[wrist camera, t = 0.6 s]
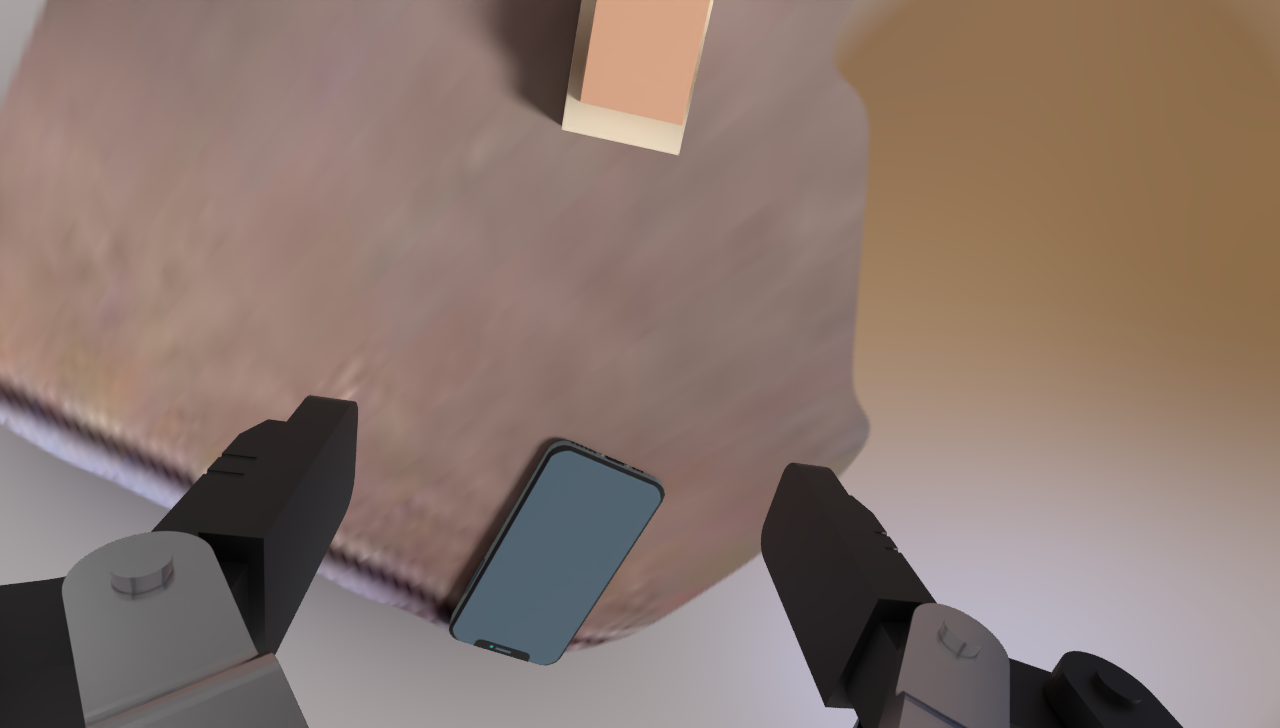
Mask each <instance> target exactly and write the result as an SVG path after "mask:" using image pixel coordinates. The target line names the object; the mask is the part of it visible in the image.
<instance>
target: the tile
mask: <svg viewBox="0 0 1280 728" xmlns="http://www.w3.org/2000/svg"><path fill="white" fill-rule="evenodd" d="M709 4H710V0H595V5H594V11H593V17H592V23H591V29H590V36H589V42H588V48H587V54H586V60H585V66H584V73H583V79H582V85H581V91H580V97H579V102H581V103H585V104H589V105H594V106H598V107H603V108H607V109H611V110H616V111H620V112H625V113H629V114H633V115H638V116H642V117H646V118H651V119H655V120H660V121H664V122H668V123H673V124H677V125H681V126H682V124H683V120H684V115H685V111H686V106H687V102H688V98H689V93H690V89H691V84H692V80H693V75H694V71H695V66H696V62H697V57H698V53H699V48H700V44H701V40H702V35H703V31H704V26H705V22H706V17H707V13H708V8H709Z"/></svg>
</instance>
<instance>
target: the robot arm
mask: <svg viewBox="0 0 1280 728" xmlns="http://www.w3.org/2000/svg"><path fill="white" fill-rule="evenodd" d="M357 425H358V406H357V403H356V402H355V401H348V400H341V399H333V398H326V397H319V396H311V395H310V396H307V397H306V398H305V399H304V401H303V402H302V403H301V404H300V406H299V407H298V408H297V409H296V411H295V412H294V413H293V414H292V416H291V417H290V418H289V419H288V421H287V422H285V421H277V420H269V419H268V420H266V421H264V422H262V423H260V424H258V425H256V426H254V427H252V428H250V429H248V430H247V431H245V432H243V433H241V434H239V435H238V436H237V437H236V439H235V440H234V441H233V442H232V443H231V444H230V445H229V446H228V447H227V449H226V450H225V451H224V452H223V453H222V457H218V458H217V460H216V461H215V462H214V463H213V464H212V465H211V466H210V467H209V468H208V470H207V474H203V475H202V476H201V477H200V478H199V479H198V481H197V482H196V483H195V484H194V485H193V486H192V487H191V488H190V489H189V490H188V492H187V493H186V494H185V495H184V496H183V497H182V498H181V499H180V500H179V502H178V503H177V504H176V505H175V506H174V507H173V508H172V509H171V510H170V511H169V513H168V514H167V515H166V516H165V517H164V518H163V519H162V520H161V521H160V523H159V524H158V525H157V526H156V527H155V528H154V529H153V530H152V531H151V532H148V533H142V534H137V535H132V536H129V537H125V538H122V539H119V540H116V541H114V542H111V543H108V544H106V545H104V546H102V547H100V548H98V549H96V550H94V551H93V552H91V553H90V554H88V555H87V556H85V557H84V558H83V559H81V560H80V561H79V562H78V563H76V564H75V566H74V567H73V568H72V569H71V570H70V571H69V573H68V574H67V576H66V577H61V578H55V579H49V580H42V581H33V582H26V583H17V584H9V585H1V586H0V728H309V727H308V725H307V723H306V720H305V718H304V716H303V714H302V712H301V710H300V707H299V705H298V703H297V701H296V698H295V697H294V694H293V692H292V690H291V688H290V685H289V683H288V681H287V679H286V677H285V674H284V672H283V670H282V668H281V666H280V664H279V662H278V660H277V658H276V657H275V654H276V652H277V650H278V648H279V646H280V644H281V642H282V640H283V638H284V636H285V634H286V632H287V630H288V628H289V626H290V624H291V622H292V620H293V618H294V616H295V614H296V612H297V610H298V608H299V606H300V604H301V602H302V600H303V598H304V596H305V594H306V592H307V590H308V588H309V586H310V583H311V582H312V579H313V578H314V576H315V574H316V572H317V570H318V568H319V566H320V564H321V562H322V560H323V558H324V556H325V554H326V552H327V550H328V548H329V546H330V544H331V542H332V540H333V538H334V536H335V534H336V532H337V530H338V528H339V526H340V524H341V522H342V520H343V518H344V516H345V513H346V511H347V509H348V506H349V503H350V499H351V495H352V491H353V486H354V478H355V462H356V443H357ZM761 550H762V555H763V558H764V561H765V563H766V566H767V568H768V570H769V573H770V575H771V578H772V580H773V582H774V585H775V587H776V590H777V592H778V595H779V597H780V599H781V602H782V603H783V607H784V609H785V611H786V614H787V616H788V619H789V621H790V623H791V626H792V628H793V631H794V633H795V635H796V638H797V640H798V642H799V645H800V647H801V650H802V652H803V655H804V657H805V659H806V662H807V664H808V667H809V669H810V671H811V674H812V676H813V679H814V681H815V683H816V686H817V688H818V690H819V693H820V695H821V698H822V700H823V703H824V705H825V707H833V708H852V709H854V710H855V711H856V714H857V716H858V719H857V721H856V723H855V725H854V727H853V728H1183V727H1182V726H1181V725H1180V724H1179V722H1178V721H1177V720H1176V719H1175V718H1174V717H1173V716H1172V715H1171V714H1170V712H1168V710H1167V709H1166V708H1165V707H1164V706H1163V705H1162V704H1161V703H1160V701H1159V700H1158V699H1157V698H1156V697H1155V696H1154V695H1153V694H1152V693H1151V692H1150V691H1149V690H1148V689H1147V688H1146V687H1145V686H1144V685H1143V684H1142V683H1140V682H1139V681H1138V680H1137V679H1135V678H1134V677H1133V676H1132V675H1130V674H1129V673H1127V672H1126V671H1124V670H1123V669H1121V668H1120V667H1118V666H1116V665H1115V664H1113V663H1111V662H1109V661H1107V660H1105V659H1103V658H1100V657H1098V656H1096V655H1093V654H1089V653H1086V652H1081V651H1072V652H1067V653H1065V654H1064V655H1063V656H1062V658H1061V659H1060V661H1059V662H1058V664H1057V665H1056V667H1055V668H1054V670H1053V671H1052V673H1051V672H1048V671H1046V670H1043V669H1040V668H1037V667H1034V666H1031V665H1028V664H1025V663H1022V662H1019V661H1016V660H1013V659H1010V658H1008V655H1007V652H1006V651H1005V649H1004V647H1003V646H1002V644H1001V643H1000V641H999V640H998V639H997V638H996V637H995V636H994V635H993V633H991V632H990V631H989V630H988V629H987V628H986V627H985V626H983V625H982V624H981V623H980V622H978V621H977V620H975V619H973V618H972V617H971V616H969V615H967V614H965V613H964V612H962V611H960V610H957V609H955V608H952V607H950V606H946V605H942V604H937V603H936V601H935V600H934V598H933V597H932V596H931V594H930V593H929V591H928V590H927V589H926V587H925V586H924V584H923V583H922V582H921V580H920V579H919V577H918V576H917V574H916V573H915V572H914V570H913V569H912V567H911V566H910V565H909V563H908V562H907V561H906V559H905V558H904V556H903V555H902V553H898V548H897V547H896V545H895V543H894V542H893V541H892V539H891V538H890V537H888V536H887V532H886V531H885V530H884V528H883V527H882V525H881V524H880V523H879V521H878V520H877V518H876V517H875V515H874V514H873V513H872V512H871V511H870V510H868V509H867V508H866V507H865V506H864V505H862V504H861V503H860V502H859V501H858V500H856V499H855V498H854V497H853V496H850V495H848V493H847V492H846V490H845V489H844V487H843V486H842V484H841V483H840V481H839V480H838V478H837V477H836V476H835V474H834V473H833V471H832V470H831V469H830V468H827V467H821V466H814V465H807V464H799V463H790V464H789V465H787V467H786V468H785V470H784V472H783V474H782V477H781V479H780V482H779V485H778V487H777V490H776V493H775V495H774V498H773V501H772V503H771V506H770V509H769V511H768V514H767V517H766V519H765V522H764V525H763V529H762V534H761Z"/></svg>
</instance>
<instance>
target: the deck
mask: <svg viewBox="0 0 1280 728" xmlns="http://www.w3.org/2000/svg"><path fill="white" fill-rule="evenodd" d="M713 1H714V0H710V4H709V8H708V13H707V17H706V22H705V26H704V31H703V35H702V40H701V44H700V48H699V53H698V57H697V62H696V66H695V71H694V75H693V80H692V84H691V89H690V93H689V98H688V102H687V106H686V111H685V115H684V120H683V124H682V126H681V125H677V124H673V123H668V122H664V121H660V120H655V119H651V118H646V117H642V116H638V115H633V114H629V113H625V112H620V111H616V110H611V109H607V108H603V107H598V106H594V105H589V104H585V103H581V102H579V97H580V91H581V85H582V79H583V73H584V66H585V60H586V54H587V48H588V42H589V36H590V29H591V23H592V17H593V11H594V5H595V0H581V5H580V12H579V18H578V25H577V31H576V37H575V44H574V50H573V57H572V63H571V70H570V76H569V83H568V89H567V96H566V102H565V109H564V115H563V121H562V130H566V131H571V132H575V133H580V134H584V135H589V136H593V137H598V138H603V139H607V140H612V141H616V142H621V143H625V144H630V145H635V146H639V147H644V148H648V149H653V150H657V151H662V152H667V153H671V154H676V155H679V151H680V147H681V142H682V138H683V133H684V129H685V125H686V120H687V116H688V111H689V107H690V102H691V98H692V94H693V89H694V85H695V80H696V76H697V71H698V67H699V63H700V58H701V54H702V49H703V45H704V40H705V36H706V32H707V27H708V23H709V18H710V14H711V9H712V5H713Z"/></svg>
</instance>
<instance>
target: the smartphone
mask: <svg viewBox="0 0 1280 728" xmlns="http://www.w3.org/2000/svg"><path fill="white" fill-rule="evenodd" d="M664 496H665V493H664V488H663V485H662V483H661V481H660V480H658V479H657V478H655V477H653V476H651V475H649V474H646V473H644V472H643V471H640V470H638V469H635V468H634V467H633V468H632V467H630V466H628V465H627V464H626V465H625V464H624V463H622V462H619V461H617V460H615V459H612V458H610V457H608V456H604V455H603V454H599V453H597V452H595V451H592V450H590V449H588V448H586V447H583V446H582V445H581V446H580V445H579V444H576V443H574V442H571V441H565V440H563V441H558V442H556V443H553V444H552V445H551V446H550V447H549V448H548V449H547V451H546V453H545V454H544V456H543V458H542V460H541V461H540V463H539V465H538V466H537V468H536V470H535V472H534V473H533V475H532V477H531V478H530V480H529V482H528V484H527V485H526V487H525V489H524V490H523V492H522V494H521V496H520V497H519V499H518V501H517V502H516V504H515V506H514V508H513V509H512V511H511V513H510V514H509V516H508V518H507V520H506V521H505V523H504V525H503V526H502V528H501V530H500V532H499V533H498V535H497V537H496V538H495V540H494V542H493V544H492V545H491V547H490V549H489V551H488V552H487V554H486V556H485V558H483V560H482V561H481V563H480V565H479V567H478V568H477V570H476V572H475V574H474V575H473V577H472V579H471V581H470V582H469V584H468V586H467V588H466V589H465V593H464V594H463V596H462V598H461V600H460V602H459V603H458V605H457V607H456V609H455V610H454V612H453V614H452V617H451V622H450V627H449V631H450V634H451V635H452V637H453V638H455V639H457V640H459V641H462V642H465V643H469V644H472V645H474V646H477V647H481V648H484V649H487V650H491V651H494V652H498V653H501V654H504V655H507V656H511V657H514V658H517V659H521V660H524V661H527V662H528V661H529V662H532V663H535V664H539V665H550V664H553V663H555V662H557V661H558V660H559V659H560V658H561V656H562V655H563V653H564V652H565V650H566V649H567V647H568V646H569V644H570V642H571V641H572V639H573V638H574V636H575V635H576V633H577V632H578V630H579V629H580V627H581V626H582V624H583V623H584V621H585V619H586V618H587V616H588V615H589V613H590V612H591V610H592V609H593V607H594V606H595V604H596V603H597V601H598V599H599V598H600V596H601V595H602V593H603V592H604V590H605V589H606V587H607V586H608V584H609V583H610V581H611V580H612V578H613V576H614V575H615V573H616V572H617V570H618V569H619V567H620V566H621V564H622V563H623V561H624V560H625V558H626V556H627V555H628V553H629V552H630V550H631V549H632V547H633V546H634V544H635V543H636V541H637V540H638V538H639V537H640V535H641V533H642V532H643V530H644V529H645V527H646V526H647V524H648V523H649V521H650V520H651V518H652V517H653V515H654V513H655V512H656V510H657V509H658V507H659V506H660V504H661V503H662V501H663V498H664Z"/></svg>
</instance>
